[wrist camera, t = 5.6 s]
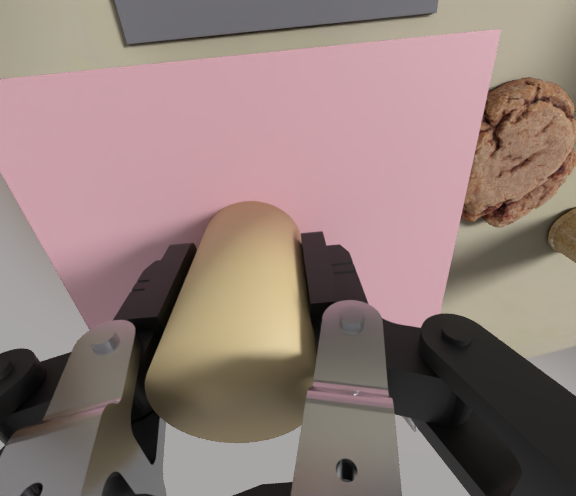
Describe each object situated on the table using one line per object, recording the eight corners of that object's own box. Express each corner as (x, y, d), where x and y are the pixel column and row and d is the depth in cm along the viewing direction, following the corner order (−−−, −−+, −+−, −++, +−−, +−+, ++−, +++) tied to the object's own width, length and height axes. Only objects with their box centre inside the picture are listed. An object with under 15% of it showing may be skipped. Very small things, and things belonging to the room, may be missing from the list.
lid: (8, 78, 11) (-517, 124, 4) (460, 33, 10) (849, -15, 3) (130, 334, 17) (26, 534, 10) (415, 310, 17) (518, 497, 10)
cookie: (573, 55, 21) (614, 55, 19) (560, 195, 27) (590, 209, 24) (425, 110, 23) (444, 116, 20) (439, 232, 28) (456, 250, 25)
